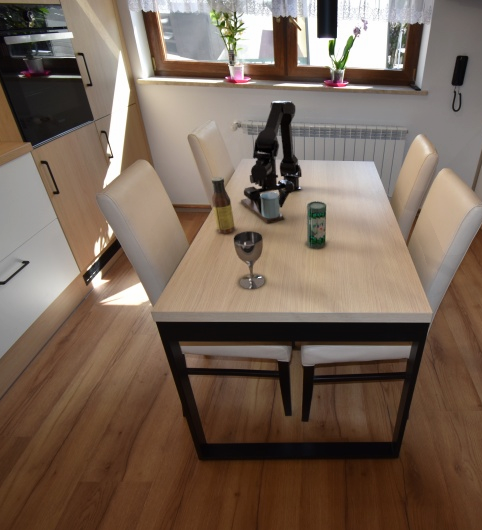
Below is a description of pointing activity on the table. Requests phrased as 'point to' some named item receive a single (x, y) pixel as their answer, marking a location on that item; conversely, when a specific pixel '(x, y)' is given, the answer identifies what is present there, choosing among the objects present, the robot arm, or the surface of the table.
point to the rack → (253, 208)
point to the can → (316, 224)
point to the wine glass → (249, 255)
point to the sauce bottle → (222, 206)
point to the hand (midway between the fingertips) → (270, 209)
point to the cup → (270, 205)
